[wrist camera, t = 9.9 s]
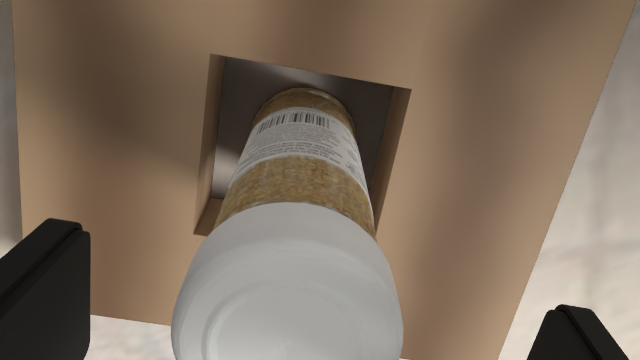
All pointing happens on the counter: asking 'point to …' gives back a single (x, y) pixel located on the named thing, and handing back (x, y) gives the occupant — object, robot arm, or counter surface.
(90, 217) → the spice holder
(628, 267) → the counter surface
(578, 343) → the robot arm
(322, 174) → the sprinkles bottle
